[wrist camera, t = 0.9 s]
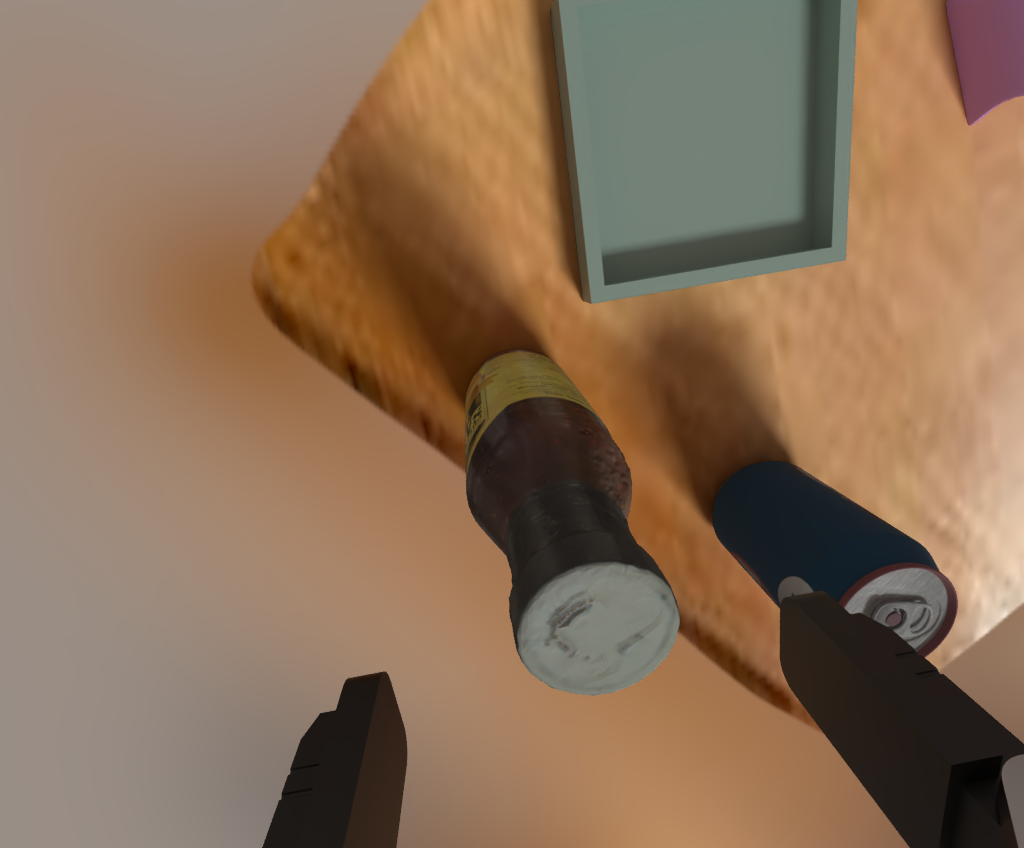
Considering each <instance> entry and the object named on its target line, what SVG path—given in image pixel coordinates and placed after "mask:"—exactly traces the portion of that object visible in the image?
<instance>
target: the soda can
mask: <svg viewBox="0 0 1024 848" xmlns="http://www.w3.org/2000/svg"><path fill="white" fill-rule="evenodd" d="M713 526H714V530H715V533H716V535H717V537H718V539H719V541H720V542H721V543H722V544H723V546H724V547H725V548H726V549H727V550H728V551H729V552H730V553H731V555H732V556H733V557H734V558H735V559H736V560H737V561H738V562H739V564H740V565H741V566H742V567H743V568H744V569H745V570H746V571H747V572H748V574H749V575H750V576H751V577H752V578H753V579H754V580H755V581H756V582H757V584H758V585H759V586H760V587H761V588H762V589H763V590H764V591H765V593H766V594H767V595H768V596H769V597H770V598H771V599H772V600H773V601H774V603H775V604H776V605H777V606H778V607H779V608H780V605H781V601H782V599H783V598H785V597H790V596H796V595H801V594H806V593H812V592H817V591H824V592H826V593H828V594H829V595H830V596H832V597H833V598H834V599H835V600H836V601H837V602H838V603H839V604H840V605H841V606H842V607H844V608H845V609H846V610H847V611H848V612H849V613H850V614H855V613H862V614H864V615H866V616H868V617H870V618H872V619H873V620H875V621H877V622H879V623H881V624H883V625H885V626H887V627H889V628H891V629H892V630H893V631H894V632H896V633H897V634H898V635H899V636H900V637H901V638H902V639H904V640H905V641H906V642H907V643H908V644H909V645H911V646H912V647H913V648H914V649H915V650H916V652H917V654H918V655H922V656H923V657H924V658H925V657H926V656H927V655H929V654H930V653H931V652H933V651H934V650H935V649H936V648H937V647H938V646H939V645H940V644H941V643H942V641H943V640H944V639H945V638H946V636H947V635H948V633H949V632H950V630H951V628H952V626H953V624H954V621H955V618H956V614H957V609H958V599H957V594H956V591H955V589H954V587H953V585H952V583H951V582H950V581H949V579H948V578H947V577H946V576H944V575H943V574H942V573H941V572H940V571H939V569H938V567H937V565H936V564H935V562H934V560H933V558H932V556H931V555H930V553H929V552H928V551H927V550H926V548H924V547H923V546H922V545H921V544H920V543H918V542H917V541H915V540H914V539H912V538H911V537H909V536H907V535H906V534H904V533H903V532H901V531H899V530H898V529H896V528H895V527H893V526H891V525H890V524H888V523H887V522H885V521H884V520H882V519H880V518H879V517H877V516H876V515H874V514H872V513H871V512H869V511H868V510H866V509H864V508H863V507H861V506H860V505H858V504H856V503H855V502H853V501H852V500H850V499H849V498H847V497H845V496H844V495H842V494H841V493H839V492H837V491H836V490H834V489H833V488H831V487H829V486H828V485H826V484H825V483H823V482H821V481H820V480H818V479H817V478H815V477H813V476H812V475H810V474H809V473H807V472H806V471H804V470H802V469H801V468H799V467H797V466H795V465H793V464H790V463H786V462H781V461H767V462H760V463H756V464H752V465H749V466H746V467H743V468H741V469H739V470H737V471H736V472H734V473H733V474H732V475H730V476H729V477H728V478H727V479H726V480H725V481H724V483H723V484H722V485H721V487H720V488H719V490H718V492H717V495H716V498H715V502H714V507H713Z"/></svg>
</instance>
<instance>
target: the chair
mask: <svg viewBox="0 0 1024 848" xmlns="http://www.w3.org/2000/svg"><path fill="white" fill-rule="evenodd" d="M946 9H947V15H948V20H949V26H950V31H951V36H952V42H953V47H954V52H955V57H956V63H957V68H958V73H959V79H960V84H961V89H962V95H963V100H964V105H965V110H966V116H967V121H968V124H969V125H970V126H971V125H972V124H974V123H976V122H978V121H979V120H980V119H981V118H982V117H984V116H985V115H986V114H987V113H988V112H990V111H991V110H992V109H994V108H995V107H996V106H998V105H1000V104H1001V103H1003V102H1005V101H1008V100H1010V99H1013V98H1015V97H1020V96H1024V0H949V1H947V2H946Z"/></svg>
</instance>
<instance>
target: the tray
mask: <svg viewBox="0 0 1024 848" xmlns="http://www.w3.org/2000/svg"><path fill="white" fill-rule="evenodd" d="M857 2H858V0H553V3H552V7H551V10H550V14H551V23H552V32H553V41H554V50H555V58H556V67H557V76H558V85H559V94H560V103H561V112H562V120H563V129H564V138H565V147H566V156H567V165H568V174H569V182H570V191H571V200H572V209H573V218H574V227H575V235H576V244H577V253H578V262H579V271H580V280H581V289H582V297H583V301H585V302H588V303H591V304H593V303H599V302H605V301H611V300H616V299H622V298H628V297H634V296H640V295H646V294H651V293H657V292H663V291H669V290H675V289H681V288H686V287H692V286H698V285H704V284H710V283H716V282H721V281H727V280H733V279H739V278H745V277H751V276H756V275H762V274H768V273H774V272H780V271H786V270H791V269H797V268H803V267H809V266H815V265H821V264H827V263H832V262H838V261H844V260H846V242H847V221H848V199H849V177H850V155H851V133H852V111H853V89H854V67H855V46H856V24H857Z"/></svg>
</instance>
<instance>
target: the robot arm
mask: <svg viewBox="0 0 1024 848" xmlns="http://www.w3.org/2000/svg"><path fill="white" fill-rule="evenodd" d="M780 662H781V667H782V670H783V673H784V676H785V678H786V681H787V683H788V685H789V687H790V688H791V690H792V691H793V693H794V694H795V696H796V697H797V698H798V700H799V701H800V702H801V704H802V705H803V706H804V707H805V709H806V710H807V711H808V713H809V714H810V715H811V717H812V718H813V719H814V721H815V722H816V723H817V725H818V726H819V727H820V729H821V730H822V731H823V733H824V734H825V735H826V737H827V738H828V739H829V741H830V742H831V743H832V745H833V746H834V747H835V749H836V750H837V751H838V753H839V754H840V755H841V757H842V758H843V759H844V761H845V762H846V763H847V765H848V766H849V767H850V768H851V770H852V771H853V773H854V774H855V775H856V777H857V778H858V779H859V781H860V782H861V783H862V785H863V786H864V787H865V789H866V790H867V791H868V793H869V794H870V795H871V797H872V798H873V799H874V800H875V802H876V803H877V805H878V806H879V807H880V809H881V810H882V811H883V813H884V814H885V815H886V817H887V818H888V819H889V820H890V822H891V823H892V825H893V826H894V827H895V828H896V830H897V831H898V833H899V834H900V835H901V837H902V838H903V839H904V840H905V842H906V843H907V845H908V846H909V847H910V848H1024V744H1023V743H1022V742H1021V741H1020V740H1019V739H1018V738H1016V737H1015V736H1014V735H1013V734H1012V733H1011V732H1009V731H1008V730H1007V729H1006V728H1005V727H1004V726H1002V725H1001V724H1000V723H999V722H998V721H997V720H995V719H994V718H993V717H992V716H991V715H990V714H989V713H988V712H986V711H985V710H984V709H983V708H982V707H981V706H980V705H978V704H977V703H976V702H975V701H974V700H973V699H972V698H970V697H969V696H968V695H967V694H966V693H965V692H963V691H962V690H961V689H960V688H959V687H958V686H956V685H955V684H954V683H953V682H952V681H951V680H950V679H948V678H947V677H946V676H945V675H944V674H940V673H939V672H938V669H937V668H936V667H935V666H934V665H932V664H931V663H930V662H929V661H928V660H927V659H925V658H924V657H923V656H922V655H918V654H917V652H916V650H915V649H914V648H913V647H912V646H911V645H909V644H908V643H907V642H906V641H905V640H904V639H902V638H901V637H900V636H899V635H898V634H897V633H896V632H894V631H893V630H892V629H891V628H889V627H887V626H885V625H883V624H881V623H879V622H877V621H875V620H873V619H872V618H870V617H868V616H866V615H864V614H862V613H855V614H850V613H849V612H848V611H847V610H846V609H845V608H844V607H842V606H841V605H840V604H839V603H838V602H837V601H836V600H835V599H834V598H833V597H832V596H830V595H829V594H828V593H826V592H824V591H817V592H812V593H806V594H801V595H796V596H790V597H785V598H783V599H782V601H781V605H780ZM406 766H407V740H406V732H405V728H404V724H403V721H402V718H401V714H400V711H399V708H398V704H397V701H396V697H395V694H394V691H393V687H392V684H391V681H390V678H389V675H388V674H387V673H386V672H379V673H374V674H369V675H363V676H358V677H353V678H348V679H347V680H346V681H345V683H344V685H343V689H342V692H341V695H340V698H339V702H338V705H337V708H336V710H335V711H330V712H325V713H320V714H319V716H318V717H317V719H316V720H315V721H314V723H313V724H312V725H311V727H310V728H309V729H308V731H307V732H306V733H305V735H304V736H303V737H302V739H301V741H300V743H299V746H298V749H297V752H296V755H295V757H294V760H293V763H292V766H291V773H290V775H288V777H287V780H286V783H285V785H284V788H283V791H282V799H281V800H279V802H278V805H277V808H276V811H275V813H274V816H273V819H272V822H271V825H270V827H269V830H268V833H267V836H266V839H265V842H264V845H263V847H262V848H396V845H397V837H398V830H399V822H400V813H401V806H402V798H403V790H404V783H405V775H406Z"/></svg>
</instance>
